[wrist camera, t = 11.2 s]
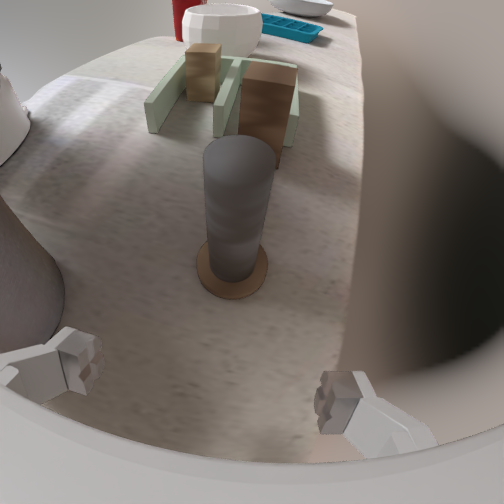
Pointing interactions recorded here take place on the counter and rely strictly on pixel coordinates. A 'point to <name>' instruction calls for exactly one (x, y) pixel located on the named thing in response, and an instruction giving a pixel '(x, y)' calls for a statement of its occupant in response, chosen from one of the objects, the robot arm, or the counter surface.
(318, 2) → the serving bowl
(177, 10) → the paper cup
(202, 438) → the counter surface
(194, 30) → the white deep bowl
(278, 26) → the ice cube tray
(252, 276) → the tethered walnut block
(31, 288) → the pillar candle
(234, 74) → the lane rack
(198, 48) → the oak block
